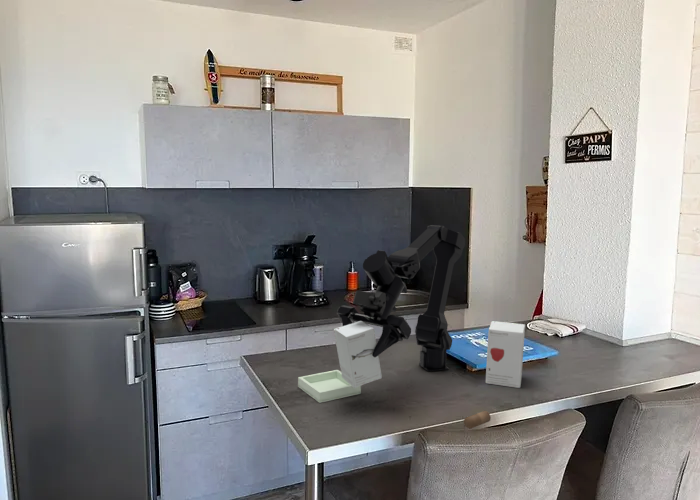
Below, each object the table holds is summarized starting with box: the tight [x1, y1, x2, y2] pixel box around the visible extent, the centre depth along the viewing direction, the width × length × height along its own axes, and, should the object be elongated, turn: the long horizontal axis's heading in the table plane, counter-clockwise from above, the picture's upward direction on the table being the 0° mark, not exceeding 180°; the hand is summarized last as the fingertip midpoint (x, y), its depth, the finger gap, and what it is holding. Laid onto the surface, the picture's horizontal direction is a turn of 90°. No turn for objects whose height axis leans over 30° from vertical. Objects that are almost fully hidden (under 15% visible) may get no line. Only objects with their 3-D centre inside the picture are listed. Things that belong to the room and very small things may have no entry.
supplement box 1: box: [333, 321, 383, 388], centre depth 124 cm, size 7×7×13 cm
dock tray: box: [297, 369, 362, 403], centre depth 135 cm, size 12×12×2 cm
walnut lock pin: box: [463, 410, 491, 430], centre depth 118 cm, size 6×2×2 cm, turn 127°
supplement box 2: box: [485, 320, 526, 389], centre depth 143 cm, size 9×9×15 cm
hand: (357, 352), depth 124 cm, fingers closed on supplement box 1, 9 cm apart
